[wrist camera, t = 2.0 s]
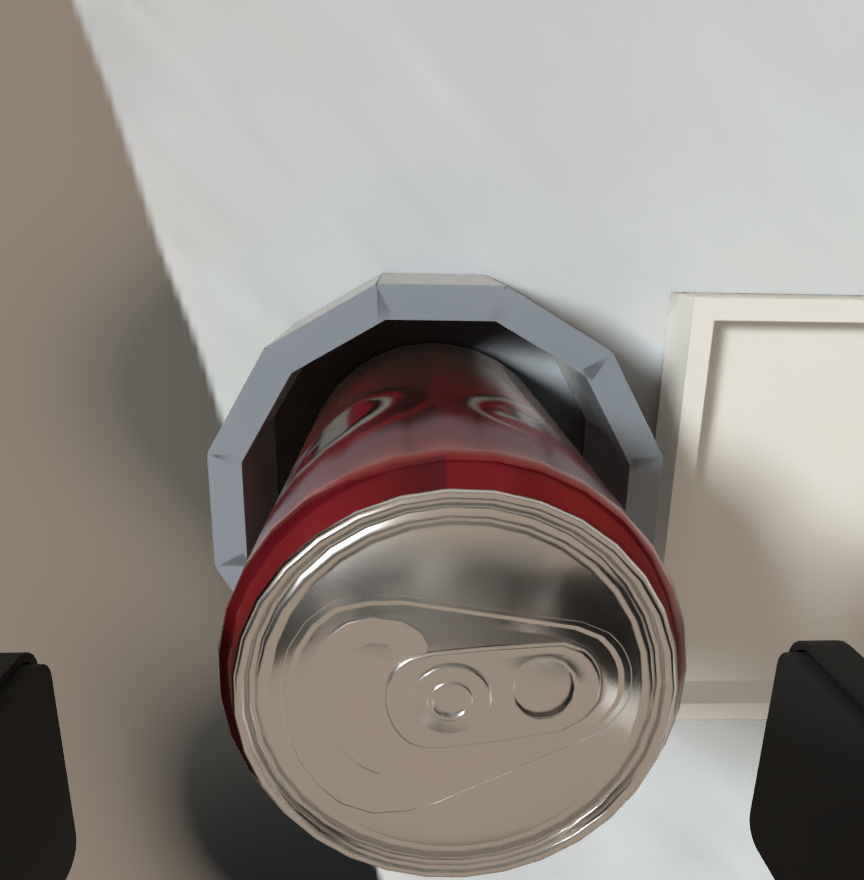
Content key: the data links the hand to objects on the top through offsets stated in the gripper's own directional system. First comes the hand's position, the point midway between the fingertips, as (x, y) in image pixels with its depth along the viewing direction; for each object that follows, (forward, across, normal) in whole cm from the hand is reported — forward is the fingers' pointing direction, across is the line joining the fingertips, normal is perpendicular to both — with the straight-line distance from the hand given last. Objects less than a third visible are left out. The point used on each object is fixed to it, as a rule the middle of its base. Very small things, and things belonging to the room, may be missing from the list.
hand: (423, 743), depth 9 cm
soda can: (+13, -1, 0) cm, 13 cm away
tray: (+13, -14, +2) cm, 19 cm away
